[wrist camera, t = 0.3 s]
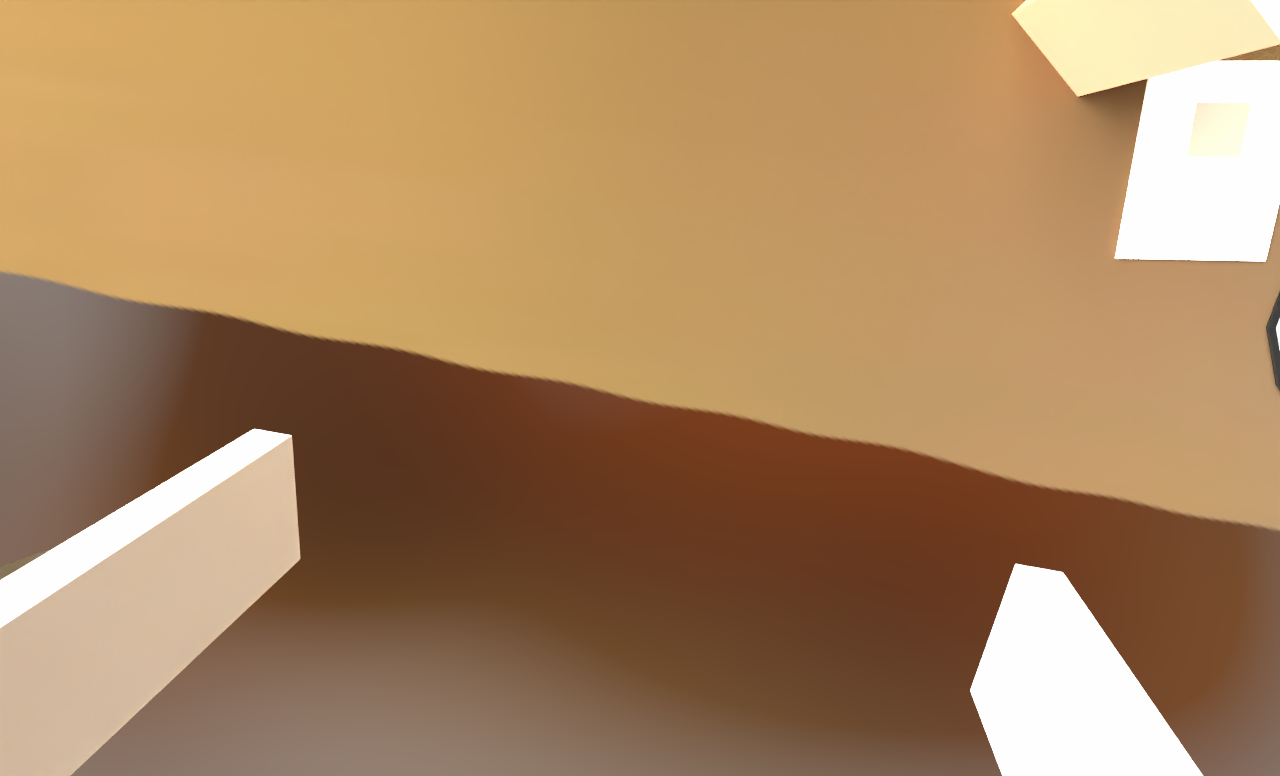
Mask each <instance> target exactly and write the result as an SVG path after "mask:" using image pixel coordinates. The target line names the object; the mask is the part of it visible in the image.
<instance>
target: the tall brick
mask: <svg viewBox="0 0 1280 776" xmlns="http://www.w3.org/2000/svg"><path fill="white" fill-rule="evenodd" d="M1012 15H1013V16H1014V18H1015V19H1016V20H1017V21H1018V23H1019V24H1020V25H1021V26H1022V28H1023V29H1024V30H1025V31H1026V33H1027V34H1028V35H1029V36H1030V38H1031V39H1032V40H1033V41H1034V43H1035V44H1036V45H1037V46H1038V48H1039V49H1040V50H1041V51H1042V53H1043V54H1044V55H1045V56H1046V58H1047V59H1048V60H1049V61H1050V63H1051V64H1052V65H1053V66H1054V68H1055V69H1056V70H1057V71H1058V73H1059V74H1060V75H1061V76H1062V78H1063V79H1064V80H1065V81H1066V83H1067V84H1068V85H1069V86H1070V88H1071V89H1072V90H1073V91H1074V93H1075V94H1076V95H1077V96H1082V95H1086V94H1090V93H1093V92H1097V91H1101V90H1105V89H1109V88H1113V87H1117V86H1121V85H1124V84H1128V83H1132V82H1136V81H1140V80H1144V79H1148V78H1152V77H1155V76H1159V75H1163V74H1167V73H1171V72H1175V71H1179V70H1182V69H1186V68H1190V67H1194V66H1198V65H1202V64H1206V63H1210V62H1213V61H1217V60H1221V59H1225V58H1229V57H1233V56H1237V55H1241V54H1244V53H1248V52H1252V51H1256V50H1260V49H1264V48H1268V47H1271V46H1275V45H1279V44H1280V0H1026V1H1025V2H1024V3H1023V4H1022V5H1021V6H1020V7H1018V8H1017V9H1016V10H1015V11H1014V12H1013V13H1012Z"/></svg>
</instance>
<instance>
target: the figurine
mask: <svg viewBox="0 0 1280 776" xmlns="http://www.w3.org/2000/svg"><path fill="white" fill-rule="evenodd" d="M1267 332H1268V338H1269V344H1270V351H1271V357H1272V363H1273V369H1274V375H1275V381H1276V385H1277V387H1278V388H1279V389H1280V294H1279V296H1278V299H1277V302H1276V304H1275V307H1274V309H1273V312H1272V315H1271V317H1270V320H1269V322H1268V325H1267Z"/></svg>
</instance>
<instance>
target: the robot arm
mask: <svg viewBox="0 0 1280 776" xmlns="http://www.w3.org/2000/svg"><path fill="white" fill-rule="evenodd" d="M299 560H300V548H299V533H298V518H297V505H296V490H295V475H294V460H293V446H292V436H291V435H285V434H279V433H274V432H268V431H263V430H257V429H253V430H252V431H250V432H248V433H246V434H245V435H243V436H241V437H240V438H238V439H236V440H235V441H233V442H231V443H230V444H228V445H226V446H225V447H223V448H221V449H220V450H218V451H216V452H214V453H213V454H211V455H209V456H208V457H206V458H204V459H203V460H201V461H200V462H198V463H196V464H195V465H193V466H191V467H189V468H188V469H186V470H184V471H183V472H181V473H179V474H178V475H176V476H174V477H173V478H171V479H169V480H168V481H166V482H164V483H163V484H161V485H159V486H157V487H156V488H154V489H153V490H151V491H149V492H148V493H146V494H144V495H142V496H141V497H139V498H137V499H136V500H134V501H132V502H131V503H129V504H127V505H126V506H124V507H122V508H121V509H119V510H117V511H116V512H114V513H112V514H111V515H109V516H107V517H106V518H104V519H102V520H101V521H99V522H97V523H96V524H94V525H92V526H90V527H89V528H87V529H86V530H84V531H82V532H80V533H79V534H77V535H75V536H74V537H72V538H70V539H69V540H67V541H65V542H64V543H62V544H60V545H59V546H57V547H55V548H54V549H52V550H50V551H47V550H46V551H42V552H40V553H37V554H34V555H31V556H29V557H26V558H23V559H21V560H18V561H15V562H12V563H10V564H7V565H5V566H2V567H0V776H70V775H72V774H73V773H74V772H75V771H76V769H78V768H79V767H80V766H81V765H82V764H83V763H84V762H85V761H86V760H87V759H88V758H89V757H91V756H92V755H93V754H94V753H95V752H96V751H97V750H98V749H99V748H100V747H101V746H102V745H103V744H104V743H105V742H107V741H108V740H109V738H111V737H112V736H113V735H114V734H115V733H116V732H117V731H118V730H119V729H120V728H121V727H122V726H124V725H125V724H126V723H127V721H129V720H130V719H131V718H132V717H133V716H134V715H135V714H136V713H137V712H138V711H139V710H141V708H143V707H144V706H145V705H146V704H147V703H148V702H149V701H150V700H151V699H152V698H153V697H154V696H155V695H156V694H157V693H159V692H160V691H161V690H162V689H163V688H164V687H165V686H166V685H167V684H168V683H169V682H170V681H171V680H172V679H173V678H174V677H176V676H177V675H178V674H179V673H180V672H181V671H182V670H183V669H184V668H185V667H186V666H187V665H188V664H189V663H190V662H191V661H193V660H194V658H196V657H197V656H198V655H199V654H200V653H201V652H202V651H203V650H204V649H205V648H206V647H207V646H209V645H210V643H212V642H213V641H214V640H215V639H216V638H217V637H218V636H219V635H220V634H221V633H222V632H223V631H224V630H225V629H227V628H228V627H229V626H230V625H231V624H232V623H233V622H234V621H235V620H236V619H237V618H238V617H239V616H240V615H241V614H242V613H243V612H244V611H246V610H247V609H248V608H249V607H250V606H251V605H252V604H253V603H254V602H255V601H256V600H257V599H258V598H259V597H261V596H262V594H264V593H265V592H266V591H267V590H268V589H269V588H270V587H271V586H272V585H273V584H274V583H275V582H276V581H277V580H279V579H280V578H281V577H282V576H283V575H284V574H285V573H286V572H287V571H288V570H289V569H290V568H291V567H292V566H293V565H295V563H297V562H298V561H299ZM970 691H971V694H972V696H973V699H974V702H975V704H976V707H977V710H978V712H979V715H980V717H981V720H982V723H983V725H984V728H985V730H986V733H987V736H988V739H989V741H990V744H991V747H992V749H993V752H994V755H995V757H996V760H997V762H998V765H999V768H1000V770H1001V773H1002V776H1203V775H1202V774H1201V772H1200V771H1199V769H1198V768H1197V766H1196V765H1195V763H1194V762H1193V761H1192V759H1191V758H1190V756H1189V755H1188V754H1187V752H1186V750H1185V749H1184V748H1183V746H1182V745H1181V743H1180V742H1179V740H1178V739H1177V737H1176V736H1175V735H1174V733H1173V732H1172V730H1171V729H1170V727H1169V726H1168V724H1167V723H1166V721H1165V720H1164V718H1163V717H1162V716H1161V714H1160V713H1159V711H1158V710H1157V709H1156V707H1155V705H1154V704H1153V703H1152V701H1151V700H1150V698H1149V697H1148V695H1147V694H1146V692H1145V691H1144V689H1143V688H1142V687H1141V685H1140V684H1139V682H1138V681H1137V680H1136V678H1135V676H1134V675H1133V673H1132V672H1131V671H1130V669H1129V668H1128V666H1127V665H1126V663H1125V662H1124V660H1123V659H1122V657H1121V656H1120V655H1119V653H1118V652H1117V650H1116V649H1115V648H1114V646H1113V644H1112V643H1111V641H1110V640H1109V639H1108V637H1107V636H1106V634H1105V633H1104V631H1103V630H1102V629H1101V627H1100V626H1099V624H1098V623H1097V621H1096V620H1095V618H1094V617H1093V615H1092V614H1091V613H1090V611H1089V610H1088V608H1087V607H1086V605H1085V604H1084V602H1083V601H1082V599H1081V598H1080V596H1079V595H1078V594H1077V592H1076V591H1075V589H1074V588H1073V586H1072V585H1071V584H1070V582H1069V581H1068V579H1067V578H1066V576H1065V575H1064V573H1063V572H1059V571H1053V570H1047V569H1042V568H1036V567H1031V566H1024V565H1019V564H1015V567H1014V569H1013V572H1012V575H1011V578H1010V581H1009V584H1008V586H1007V589H1006V592H1005V595H1004V598H1003V600H1002V603H1001V606H1000V609H999V611H998V615H997V617H996V620H995V623H994V626H993V628H992V631H991V634H990V637H989V639H988V643H987V645H986V648H985V651H984V653H983V656H982V659H981V662H980V665H979V667H978V670H977V673H976V676H975V679H974V682H973V684H972V687H971V690H970Z"/></svg>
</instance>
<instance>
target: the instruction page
mask: <svg viewBox="0 0 1280 776" xmlns="http://www.w3.org/2000/svg"><path fill="white" fill-rule="evenodd" d="M1279 203H1280V61H1213V62H1210V63H1206V64H1202V65H1198V66H1194V67H1190V68H1186V69H1182V70H1179V71H1175V72H1171V73H1167V74H1163V75H1159V76H1155V77H1152V78H1148V80H1147V85H1146V91H1145V96H1144V102H1143V107H1142V112H1141V118H1140V123H1139V129H1138V134H1137V140H1136V145H1135V151H1134V156H1133V162H1132V167H1131V172H1130V178H1129V183H1128V189H1127V194H1126V200H1125V205H1124V211H1123V216H1122V222H1121V227H1120V232H1119V238H1118V243H1117V249H1116V254H1115V258H1116V259H1165V260H1221V261H1266V258H1267V254H1268V250H1269V245H1270V241H1271V237H1272V233H1273V229H1274V224H1275V220H1276V216H1277V212H1278V208H1279Z"/></svg>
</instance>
